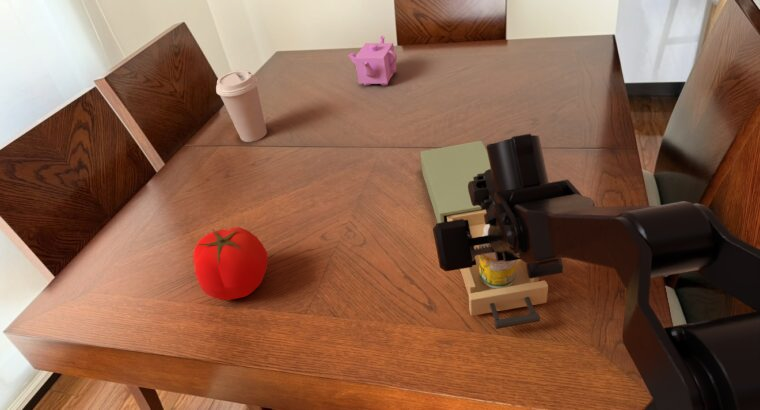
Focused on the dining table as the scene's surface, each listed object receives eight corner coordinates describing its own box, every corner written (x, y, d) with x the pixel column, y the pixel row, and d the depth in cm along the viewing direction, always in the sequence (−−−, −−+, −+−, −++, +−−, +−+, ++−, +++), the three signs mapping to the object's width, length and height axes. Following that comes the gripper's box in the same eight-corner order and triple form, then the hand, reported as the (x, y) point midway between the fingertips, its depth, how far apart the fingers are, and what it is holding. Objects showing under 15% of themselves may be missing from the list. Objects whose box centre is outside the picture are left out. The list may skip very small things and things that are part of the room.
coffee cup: (271, 141, 119) (253, 83, 109) (232, 148, 119) (209, 91, 109) (274, 121, 126) (257, 65, 117) (236, 127, 126) (216, 72, 117)
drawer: (557, 325, 69) (559, 308, 67) (478, 339, 69) (478, 323, 67) (507, 220, 86) (508, 204, 84) (444, 231, 86) (443, 215, 84)
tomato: (192, 295, 84) (164, 248, 77) (242, 251, 90) (221, 204, 83) (240, 324, 78) (215, 275, 70) (289, 274, 84) (272, 226, 77)
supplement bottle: (516, 290, 73) (519, 243, 67) (479, 289, 74) (478, 243, 68) (514, 263, 77) (516, 216, 71) (478, 263, 78) (478, 217, 72)
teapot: (363, 65, 145) (357, 32, 139) (407, 65, 141) (403, 30, 135) (342, 95, 132) (335, 60, 126) (390, 96, 128) (385, 59, 122)
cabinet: (511, 224, 86) (512, 201, 83) (441, 236, 86) (440, 213, 83) (481, 162, 101) (481, 140, 98) (422, 172, 101) (420, 151, 98)
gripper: (589, 150, 58) (547, 172, 73) (430, 178, 58) (421, 194, 73) (610, 246, 57) (563, 248, 72) (447, 274, 57) (435, 270, 72)
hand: (495, 237), depth 73 cm, fingers open, 8 cm apart
